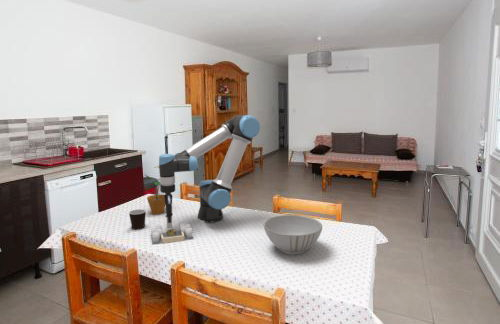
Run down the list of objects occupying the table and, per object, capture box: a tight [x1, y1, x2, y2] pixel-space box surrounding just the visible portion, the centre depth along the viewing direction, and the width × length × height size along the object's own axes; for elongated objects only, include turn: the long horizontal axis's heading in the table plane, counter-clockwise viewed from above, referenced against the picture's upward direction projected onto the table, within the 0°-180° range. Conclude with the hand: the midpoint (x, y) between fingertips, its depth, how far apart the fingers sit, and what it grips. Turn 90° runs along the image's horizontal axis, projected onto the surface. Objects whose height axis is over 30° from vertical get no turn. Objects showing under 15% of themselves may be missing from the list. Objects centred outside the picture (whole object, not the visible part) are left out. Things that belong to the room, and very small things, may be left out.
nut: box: [166, 228, 177, 236], centre depth 175 cm, size 4×5×2 cm
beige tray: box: [150, 222, 195, 246], centre depth 172 cm, size 20×14×6 cm
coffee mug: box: [128, 208, 147, 231], centre depth 186 cm, size 12×9×10 cm
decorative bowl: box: [263, 214, 323, 255], centre depth 158 cm, size 27×27×12 cm
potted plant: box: [145, 165, 166, 215], centre depth 211 cm, size 18×19×30 cm
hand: (169, 227), depth 180 cm, fingers closed
